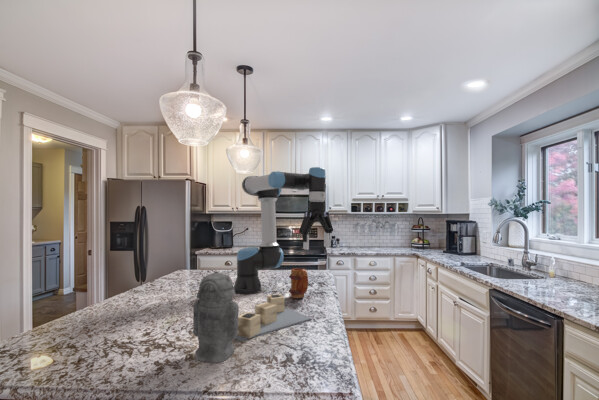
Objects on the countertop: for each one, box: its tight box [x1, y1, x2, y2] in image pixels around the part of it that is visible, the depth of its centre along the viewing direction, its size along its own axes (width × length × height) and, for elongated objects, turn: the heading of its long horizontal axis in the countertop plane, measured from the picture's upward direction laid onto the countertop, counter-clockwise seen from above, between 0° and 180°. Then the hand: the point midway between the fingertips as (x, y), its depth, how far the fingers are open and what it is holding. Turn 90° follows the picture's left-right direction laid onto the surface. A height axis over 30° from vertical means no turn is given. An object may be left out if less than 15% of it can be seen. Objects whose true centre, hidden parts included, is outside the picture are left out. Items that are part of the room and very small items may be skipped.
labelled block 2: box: [266, 293, 285, 312], centre depth 126 cm, size 6×6×6 cm
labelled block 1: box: [238, 311, 260, 339], centre depth 102 cm, size 6×6×6 cm
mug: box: [288, 267, 309, 299], centre depth 145 cm, size 15×8×15 cm, turn 25°
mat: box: [234, 306, 312, 342], centre depth 114 cm, size 20×32×1 cm, turn 129°
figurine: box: [192, 270, 240, 364], centre depth 88 cm, size 10×14×25 cm
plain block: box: [254, 301, 277, 325], centre depth 114 cm, size 6×6×6 cm
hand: (316, 248), depth 131 cm, fingers open, 13 cm apart
